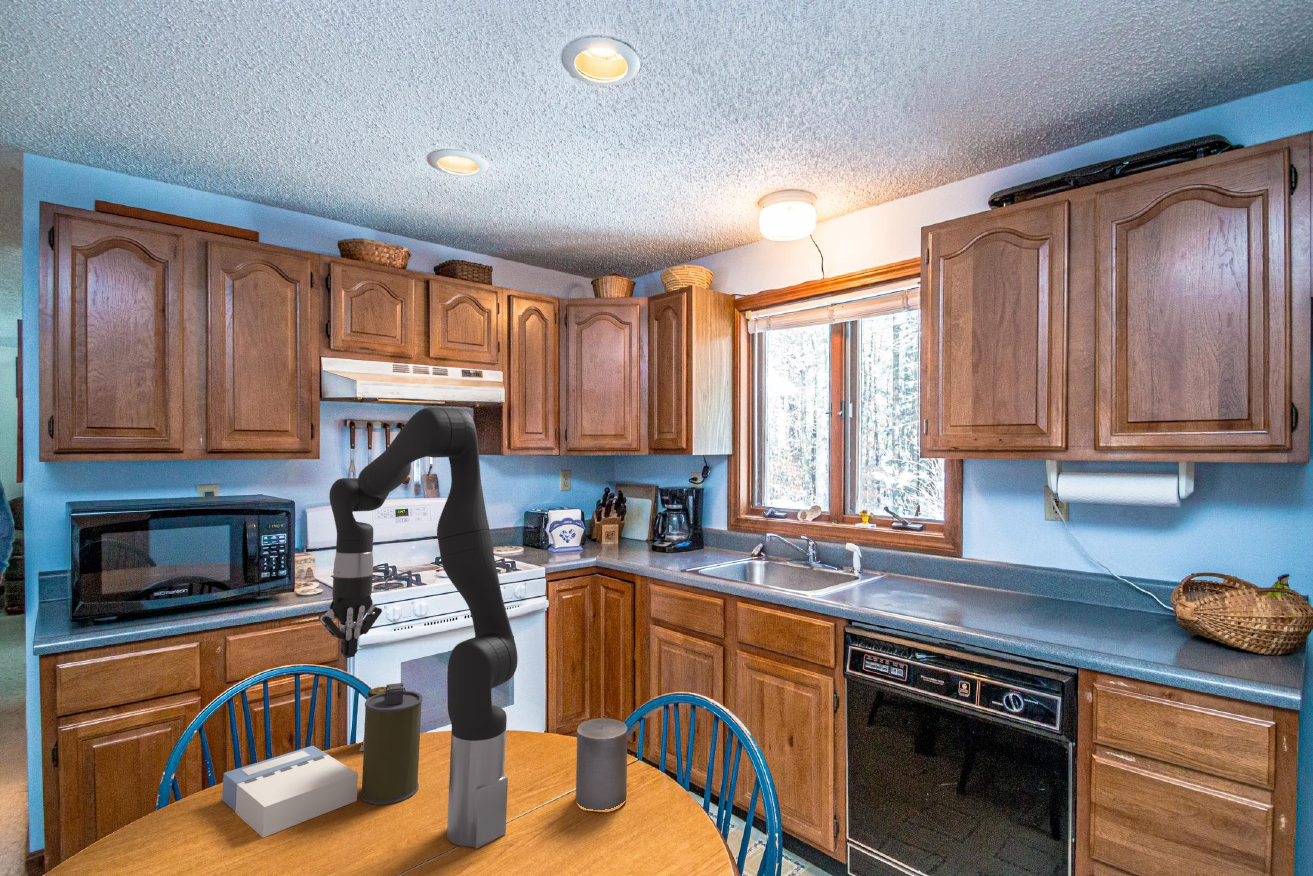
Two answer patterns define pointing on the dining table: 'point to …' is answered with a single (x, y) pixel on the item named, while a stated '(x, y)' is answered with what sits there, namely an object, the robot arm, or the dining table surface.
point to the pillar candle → (601, 764)
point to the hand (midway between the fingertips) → (348, 656)
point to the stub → (264, 770)
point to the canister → (391, 746)
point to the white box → (295, 794)
